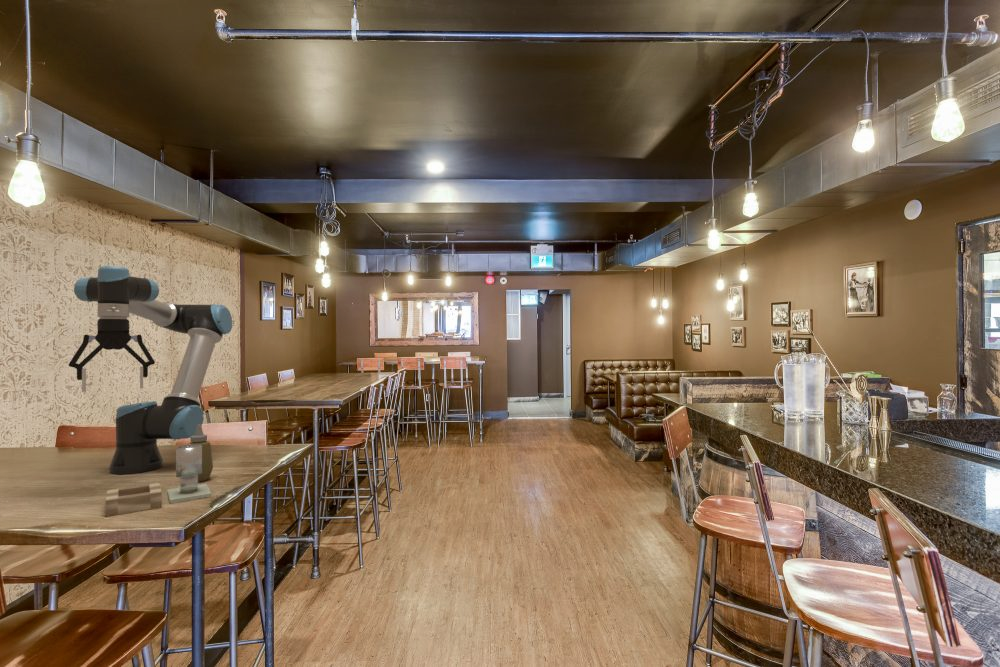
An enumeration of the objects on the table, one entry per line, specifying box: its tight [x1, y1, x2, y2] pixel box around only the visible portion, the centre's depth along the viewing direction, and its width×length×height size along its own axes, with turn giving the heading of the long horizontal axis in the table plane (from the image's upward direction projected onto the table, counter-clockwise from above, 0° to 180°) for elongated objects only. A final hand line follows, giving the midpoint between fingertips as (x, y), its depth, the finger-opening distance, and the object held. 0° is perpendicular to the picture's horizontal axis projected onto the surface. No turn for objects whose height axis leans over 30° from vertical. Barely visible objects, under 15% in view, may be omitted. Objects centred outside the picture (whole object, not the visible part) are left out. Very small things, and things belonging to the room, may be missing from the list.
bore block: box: [105, 481, 163, 517], centre depth 138 cm, size 12×12×4 cm
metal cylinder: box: [175, 444, 202, 494], centre depth 147 cm, size 6×6×13 cm
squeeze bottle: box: [187, 424, 214, 482], centre depth 162 cm, size 8×8×18 cm
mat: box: [166, 483, 212, 504], centre depth 147 cm, size 12×10×1 cm
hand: (113, 389), depth 150 cm, fingers open, 13 cm apart
